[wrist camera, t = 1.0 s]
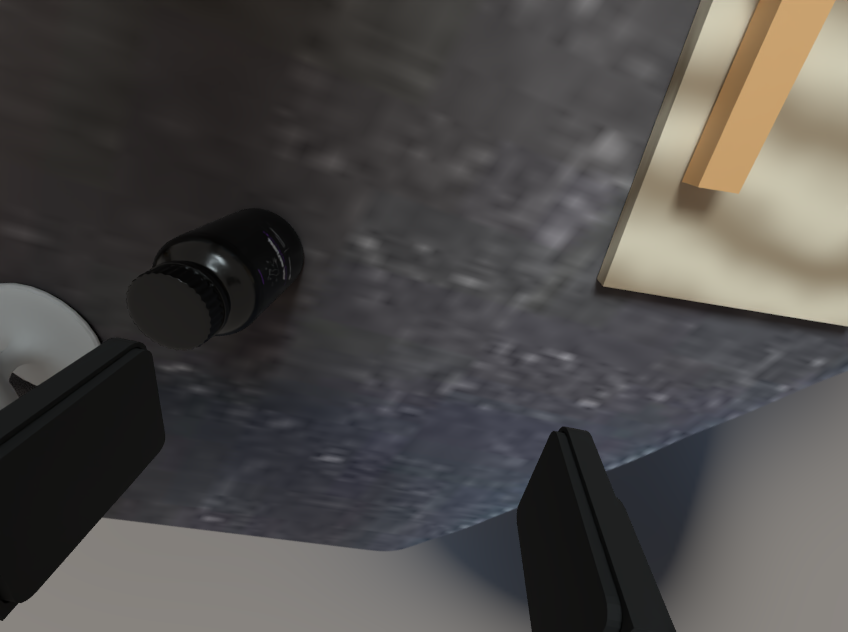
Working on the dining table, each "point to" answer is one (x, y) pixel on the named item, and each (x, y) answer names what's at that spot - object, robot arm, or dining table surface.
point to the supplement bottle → (215, 278)
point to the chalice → (37, 337)
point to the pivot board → (744, 187)
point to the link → (755, 91)
